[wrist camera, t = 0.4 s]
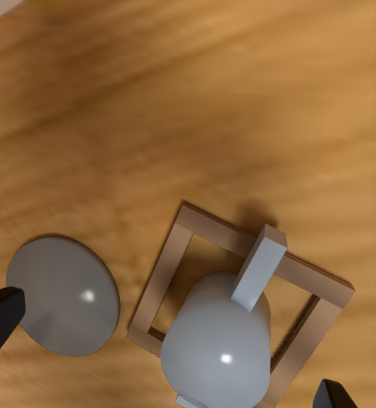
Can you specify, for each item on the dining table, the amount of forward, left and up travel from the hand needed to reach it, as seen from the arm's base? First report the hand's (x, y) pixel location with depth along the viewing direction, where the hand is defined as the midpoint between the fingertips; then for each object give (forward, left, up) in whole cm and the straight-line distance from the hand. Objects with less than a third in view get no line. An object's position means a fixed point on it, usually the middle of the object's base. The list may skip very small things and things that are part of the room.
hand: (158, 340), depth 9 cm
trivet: (-13, +10, -14) cm, 21 cm away
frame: (-7, -3, -14) cm, 15 cm away
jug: (-4, -3, -14) cm, 15 cm away
